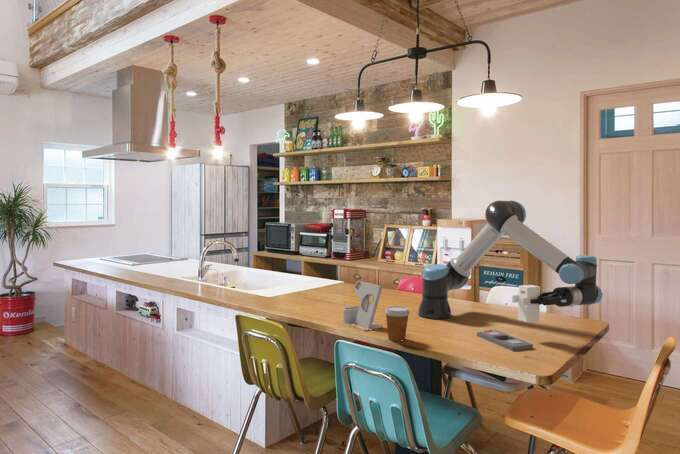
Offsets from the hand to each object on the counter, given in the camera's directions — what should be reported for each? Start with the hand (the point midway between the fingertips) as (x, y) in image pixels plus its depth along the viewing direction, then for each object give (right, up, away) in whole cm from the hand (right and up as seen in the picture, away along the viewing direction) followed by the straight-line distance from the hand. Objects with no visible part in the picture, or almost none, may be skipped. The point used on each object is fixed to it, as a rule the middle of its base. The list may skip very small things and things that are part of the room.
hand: (517, 300), depth 180 cm
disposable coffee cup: (-44, -16, +6) cm, 48 cm away
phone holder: (-57, -15, +27) cm, 65 cm away
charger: (+5, -8, +2) cm, 10 cm away
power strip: (-6, -17, -1) cm, 18 cm away
